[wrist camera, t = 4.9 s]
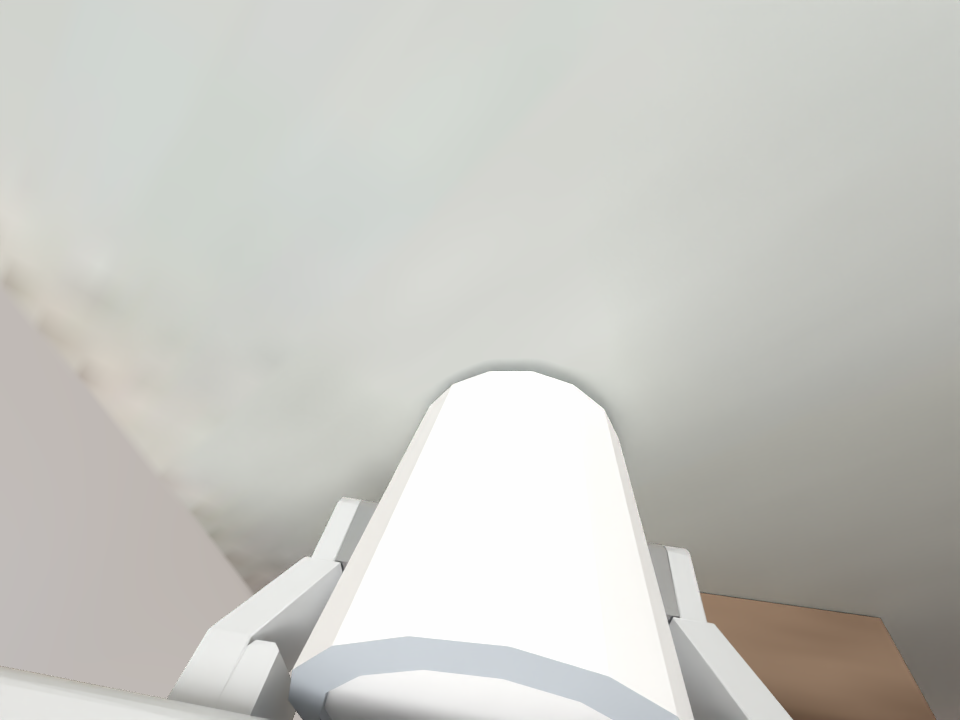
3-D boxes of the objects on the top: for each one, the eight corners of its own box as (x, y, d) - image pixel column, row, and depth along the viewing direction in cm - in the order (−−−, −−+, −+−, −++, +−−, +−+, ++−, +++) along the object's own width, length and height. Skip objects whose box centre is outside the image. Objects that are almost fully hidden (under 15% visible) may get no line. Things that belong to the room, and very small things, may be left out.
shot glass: (400, 505, 16) (307, 772, 10) (399, 329, 12) (245, 604, 6) (608, 543, 15) (634, 845, 10) (679, 373, 11) (793, 714, 6)
